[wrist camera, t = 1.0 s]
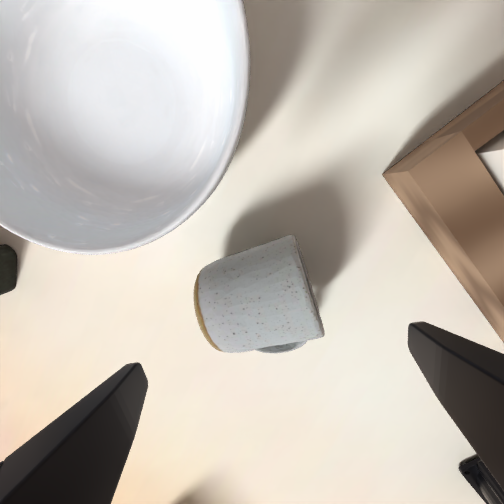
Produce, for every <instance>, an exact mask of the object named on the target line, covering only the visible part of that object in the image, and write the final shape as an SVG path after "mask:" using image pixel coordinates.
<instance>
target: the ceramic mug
mask: <svg viewBox="0 0 504 504" xmlns="http://www.w3.org/2000/svg"><path fill="white" fill-rule="evenodd" d="M194 307H195V313H196V317H197V320H198V323H199V326H200V329H201V331H202V333H203V335H204V336H205V338H206V339H207V341H208V342H209V343H210V344H211V345H212V347H214V348H215V349H217V350H219V351H222V352H230V353H233V352H245V351H251V350H256V351H260V352H265V353H283V352H288V351H292V350H295V349H297V348H299V347H301V346H303V345H304V344H305V343H306V342H307V340H311V339H317V338H321V337H323V336H324V328H323V324H322V320H321V317H320V314H319V310H318V307H317V304H316V300H315V296H314V293H313V290H312V286H311V283H310V280H309V277H308V273H307V270H306V267H305V264H304V261H303V257H302V254H301V251H300V248H299V245H298V243H297V239H296V238H295V236H293V235H288V236H285V237H282V238H279V239H277V240H274V241H271V242H268V243H265V244H262V245H259V246H256V247H253V248H250V249H248V250H245V251H243V252H240V253H237V254H233V255H230V256H227V257H224V258H222V259H219V260H216V261H215V262H213V263H211V264H209V265H207V266H205V267H204V268H203V269H202V270H201V271H200V273H199V274H198V276H197V279H196V282H195V286H194Z"/></svg>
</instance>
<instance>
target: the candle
mask: <svg viewBox="0 0 504 504" xmlns="http://www.w3.org/2000/svg"><path fill="white" fill-rule="evenodd" d="M16 268H17V256H16V253H15V252H14V250H13V249H12V248H11V247H10V246H8V245H5V244H4V245H0V295H2V294H4V293H7V292H9V291H12V290H13V289H14V288H15V285H16Z"/></svg>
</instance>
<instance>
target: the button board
mask: <svg viewBox="0 0 504 504" xmlns="http://www.w3.org/2000/svg"><path fill="white" fill-rule="evenodd" d="M503 130H504V81H502V82H501V83H500V84H498V85H497V86H496V87H495V88H493V89H492V90H491V91H489V92H488V93H487V94H485V95H484V96H483V97H482V98H480V99H479V100H478V101H476V102H475V103H474V104H473V105H471V106H470V107H469V108H467V109H466V110H465V111H463V112H462V113H461V114H460V115H458V116H457V117H456V118H454V119H453V120H452V121H451V122H449V123H448V124H447V125H445V126H444V127H443V128H442V129H440V130H439V131H438V132H436V133H435V134H434V135H432V136H431V137H430V138H429V139H427V140H426V141H425V142H423V143H422V144H421V145H420V146H418V147H417V148H416V149H414V150H413V151H412V152H410V153H409V154H408V155H407V156H405V157H404V158H403V159H401V160H400V161H399V162H398V163H396V164H395V165H394V166H392V167H391V168H390V169H388V170H387V171H386V172H385V173H383V174H382V175H383V177H384V178H385V179H386V181H387V182H388V184H389V185H390V186H391V188H392V189H393V190H394V192H395V193H396V195H397V196H398V197H399V199H400V200H401V201H402V203H403V204H404V206H405V207H406V208H407V210H408V211H409V213H410V214H411V215H412V217H413V218H414V219H415V221H416V222H417V224H418V225H419V226H420V228H421V229H422V230H423V232H424V233H425V235H426V236H427V237H428V239H429V240H430V242H431V243H432V244H433V246H434V247H435V248H436V250H437V251H438V253H439V254H440V255H441V257H442V258H443V259H444V261H445V262H446V264H447V265H448V266H449V268H450V269H451V271H452V272H453V273H454V275H455V276H456V277H457V279H458V280H459V282H460V283H461V284H462V286H463V287H464V288H465V290H466V291H467V293H468V294H469V295H470V297H471V298H472V300H473V301H474V302H475V304H476V305H477V306H478V308H479V309H480V311H481V312H482V313H483V315H484V316H485V317H486V319H487V320H488V322H489V323H490V324H491V326H492V327H493V329H494V330H495V331H496V333H497V334H498V335H499V337H500V338H501V340H502V341H503V342H504V195H503V194H502V192H501V191H500V189H499V188H498V186H497V185H496V183H495V182H494V180H493V179H492V177H491V176H490V174H489V172H488V171H487V169H486V168H485V166H484V165H483V163H482V162H481V160H480V159H479V157H478V156H477V154H476V153H475V151H476V150H477V149H478V148H480V147H481V146H483V145H484V144H485V143H487V142H488V141H490V140H491V139H492V138H494V137H495V136H496V135H498V134H499V133H501V132H502V131H503Z"/></svg>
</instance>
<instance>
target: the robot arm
mask: <svg viewBox="0 0 504 504" xmlns="http://www.w3.org/2000/svg"><path fill="white" fill-rule="evenodd" d="M408 347H409V350H410V352H411V354H412V356H413V358H414V359H415V361H416V363H417V364H418V366H419V368H420V369H421V371H422V373H423V375H424V376H425V378H426V380H427V381H428V383H429V385H430V387H431V388H432V390H433V392H434V393H435V395H436V397H437V398H438V400H439V401H440V403H441V404H442V405H443V407H444V408H445V410H446V411H447V413H448V414H449V415H450V417H451V418H452V419H453V421H454V422H455V424H456V425H457V426H458V428H459V429H460V431H461V432H462V433H463V435H464V436H465V438H466V439H467V440H468V442H469V443H470V445H471V446H472V447H473V449H474V450H475V451H476V453H477V454H478V456H479V458H477V459H475V460H472V461H470V462H468V463H465V464H463V465H461V466H460V467H459V471H460V472H461V474H462V475H463V476H464V477H465V479H466V480H467V481H468V482H469V483H470V485H471V486H472V487H473V488H474V489H475V491H476V492H477V493H478V494H479V495H480V497H481V498H482V499H483V500H484V501H485V503H486V504H504V354H502V353H500V352H497V351H495V350H492V349H490V348H488V347H485V346H483V345H480V344H478V343H475V342H473V341H470V340H468V339H465V338H463V337H461V336H458V335H456V334H453V333H451V332H448V331H446V330H443V329H441V328H438V327H436V326H434V325H431V324H429V323H426V322H414V323H410V324H409V326H408ZM147 388H148V380H147V378H146V375H145V373H144V370H143V368H142V366H141V364H140V363H138V362H137V363H130V364H126V365H125V366H124V367H122V368H121V369H120V370H118V371H117V372H116V373H115V374H113V375H112V376H111V377H109V378H108V379H107V380H106V381H104V382H103V383H102V384H100V385H99V386H98V387H97V388H95V389H94V390H93V391H91V392H90V393H89V394H88V395H86V396H85V397H84V398H82V399H81V400H80V401H79V402H77V403H76V404H75V405H73V406H72V407H71V408H70V409H68V410H67V411H66V412H64V413H63V414H62V415H61V416H59V417H58V418H57V419H55V420H54V421H53V422H52V423H50V424H49V425H48V426H47V427H45V428H44V429H43V430H41V431H40V432H39V433H38V434H36V435H35V436H34V437H32V438H31V439H30V440H29V441H27V442H26V443H25V444H23V445H22V446H21V447H20V448H18V449H17V450H16V451H14V452H13V453H12V454H11V455H9V456H8V457H7V458H6V459H5V460H4V461H2V462H0V504H111V502H112V499H113V496H114V493H115V491H116V488H117V485H118V482H119V479H120V477H121V474H122V471H123V468H124V465H125V463H126V460H127V457H128V454H129V451H130V449H131V446H132V443H133V440H134V437H135V434H136V430H137V427H138V423H139V419H140V415H141V411H142V408H143V404H144V400H145V396H146V392H147Z"/></svg>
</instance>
